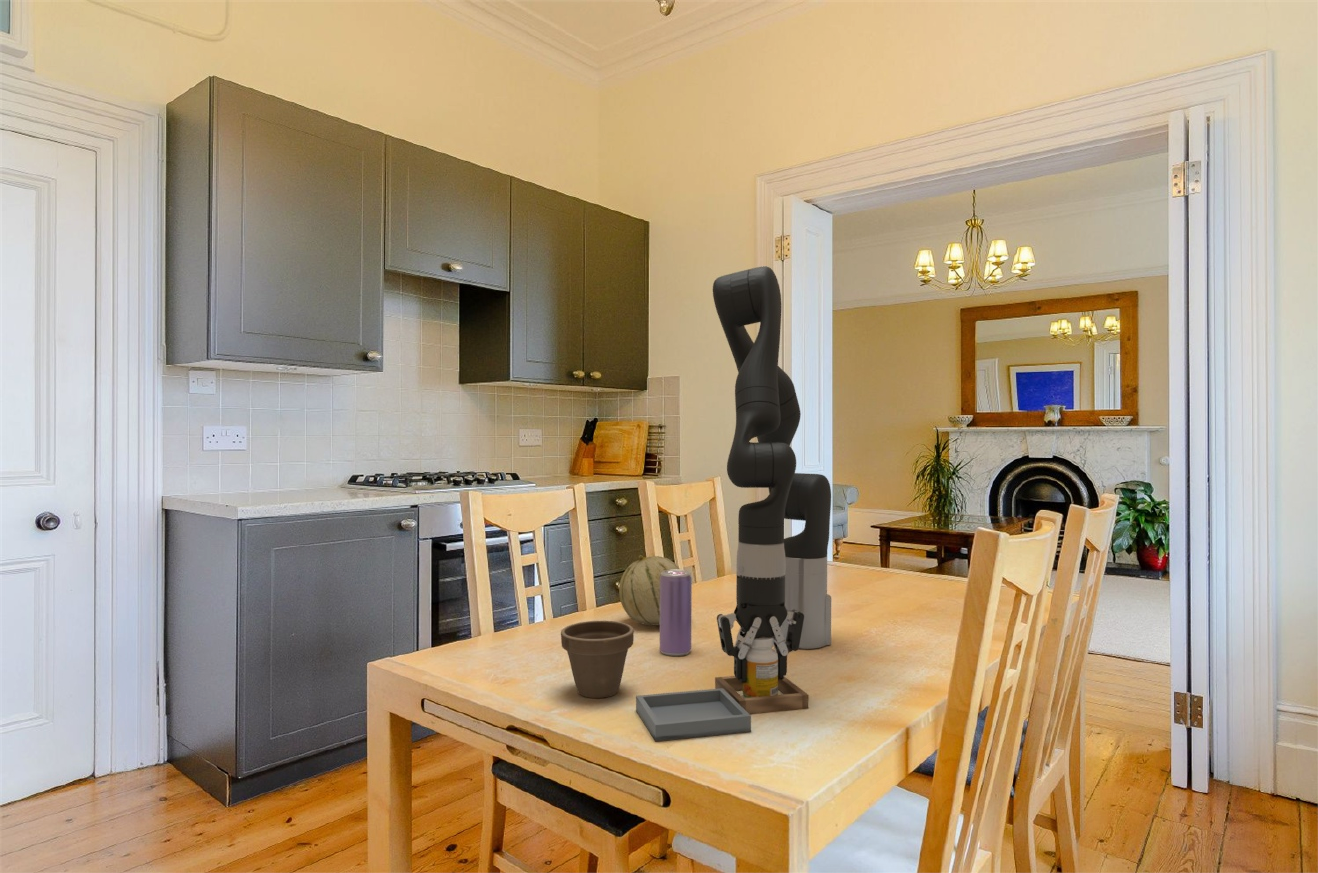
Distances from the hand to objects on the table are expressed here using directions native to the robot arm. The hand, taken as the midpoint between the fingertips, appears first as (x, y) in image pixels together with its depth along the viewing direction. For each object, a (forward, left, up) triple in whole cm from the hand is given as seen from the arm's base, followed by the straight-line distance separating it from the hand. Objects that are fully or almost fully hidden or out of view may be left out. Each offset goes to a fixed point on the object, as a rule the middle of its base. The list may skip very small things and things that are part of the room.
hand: (760, 679), depth 118 cm
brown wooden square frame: (0, 0, -3) cm, 3 cm away
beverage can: (+6, -27, -3) cm, 28 cm away
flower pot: (+24, -9, -3) cm, 26 cm away
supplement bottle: (0, 0, -3) cm, 3 cm away
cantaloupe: (+5, -48, -3) cm, 48 cm away
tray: (+13, +6, -3) cm, 15 cm away
